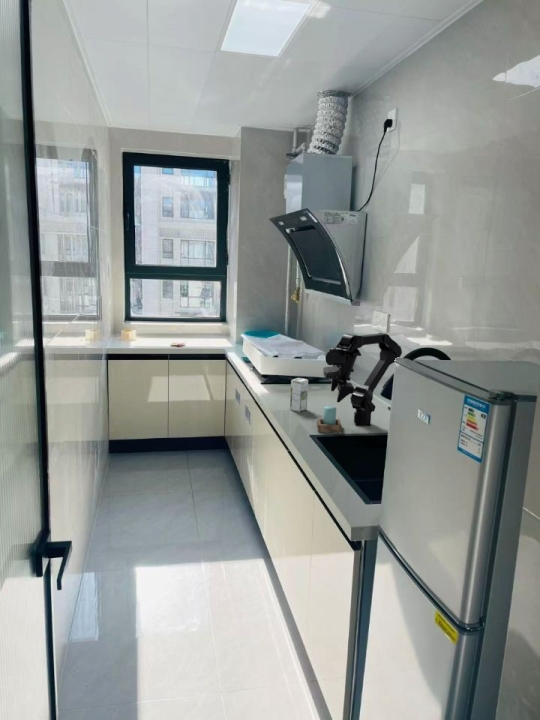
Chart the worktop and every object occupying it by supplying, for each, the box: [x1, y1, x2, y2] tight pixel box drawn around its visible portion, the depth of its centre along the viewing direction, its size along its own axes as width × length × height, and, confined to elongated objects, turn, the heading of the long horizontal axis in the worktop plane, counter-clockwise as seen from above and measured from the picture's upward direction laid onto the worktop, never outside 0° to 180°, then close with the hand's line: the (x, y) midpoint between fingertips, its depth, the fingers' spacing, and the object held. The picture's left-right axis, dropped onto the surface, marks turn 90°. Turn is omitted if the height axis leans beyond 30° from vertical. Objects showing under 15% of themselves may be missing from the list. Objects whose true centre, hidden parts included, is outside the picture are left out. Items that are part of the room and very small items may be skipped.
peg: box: [322, 405, 337, 425], centre depth 228 cm, size 5×5×9 cm
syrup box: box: [289, 377, 309, 413], centre depth 256 cm, size 6×6×14 cm
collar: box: [316, 418, 343, 433], centre depth 228 cm, size 9×9×3 cm
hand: (335, 396), depth 234 cm, fingers open, 9 cm apart
